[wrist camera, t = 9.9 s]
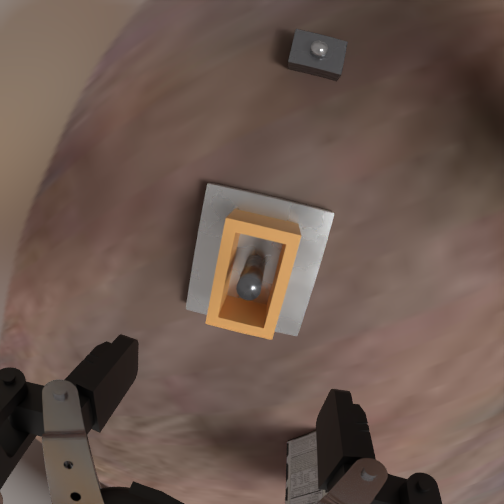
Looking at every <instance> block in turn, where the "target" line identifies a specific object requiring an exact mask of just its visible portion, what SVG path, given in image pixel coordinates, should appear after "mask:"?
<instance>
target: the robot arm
mask: <svg viewBox="0 0 504 504" xmlns="http://www.w3.org/2000/svg"><path fill="white" fill-rule="evenodd" d="M137 371H138V340H136V339H133V338H130V337H127V336H125V335H122V334H121V335H119V336H118V337H117V338H116V339H115V340H114V341H113V342H112V343H109V342H107V341H106V342H104V343H102V344H100V345H98V346H96V347H95V348H94V349H93V350H92V351H91V352H90V354H88V355H87V356H86V358H85V359H84V360H83V361H82V362H81V363H80V364H79V365H78V366H77V367H76V368H75V369H74V370H73V371H72V372H71V373H70V375H69V376H68V377H67V378H66V379H65V380H53V381H50V382H49V383H47V384H46V385H45V386H43V385H38V384H34V383H30V382H26V379H25V376H24V374H23V373H22V372H21V371H20V370H18V369H16V368H3V369H1V370H0V489H1V488H2V486H3V485H4V483H5V481H6V480H7V478H8V477H9V475H10V474H11V472H12V471H13V469H14V468H15V466H16V465H17V463H18V462H19V460H20V459H21V457H22V456H23V454H24V453H25V451H26V450H27V449H28V447H29V446H30V444H31V443H32V441H33V440H34V439H35V437H36V436H37V435H38V436H42V444H43V453H44V460H45V467H46V473H47V480H48V486H49V491H50V496H51V501H52V504H184V503H182V502H180V501H178V500H176V499H174V498H173V497H171V496H169V495H167V494H165V493H164V492H162V491H159V490H156V489H153V488H150V487H147V486H144V485H142V484H139V483H136V482H134V481H133V483H132V485H131V487H130V488H127V487H107V488H101V486H100V483H99V479H98V476H97V473H96V469H95V465H94V462H93V458H92V454H91V450H90V445H89V441H88V437H87V434H88V433H89V431H90V430H91V429H93V430H95V431H97V432H101V430H102V429H103V427H104V426H105V424H106V423H107V421H108V420H109V418H110V417H111V415H112V414H113V412H114V411H115V409H116V408H117V406H118V405H119V403H120V402H121V400H122V399H123V397H124V396H125V394H126V393H127V391H128V390H129V388H130V387H131V385H132V384H133V382H134V380H135V378H136V375H137ZM367 423H368V422H367V418H366V414H365V412H364V411H363V409H362V408H361V407H360V405H359V404H353V402H352V397H351V393H350V391H344V390H338V389H331V390H330V392H329V394H328V396H327V398H326V400H325V402H324V404H323V406H322V408H321V410H320V412H319V415H318V418H317V422H316V441H317V466H318V489H319V490H327V491H328V493H327V494H326V495H325V496H324V497H323V498H322V499H321V500H320V501H319V502H318V503H317V504H442V501H441V497H440V493H439V489H438V485H437V482H436V481H435V479H434V478H433V477H431V476H430V475H428V474H425V473H415V474H413V475H411V476H410V477H409V478H408V479H404V478H400V477H397V476H393V475H390V474H388V473H387V470H386V468H385V466H384V465H383V464H382V463H380V462H379V461H377V460H376V459H375V454H374V449H373V445H372V440H371V435H370V432H369V426H368V425H367ZM0 504H3V498H2V495H1V493H0Z"/></svg>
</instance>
